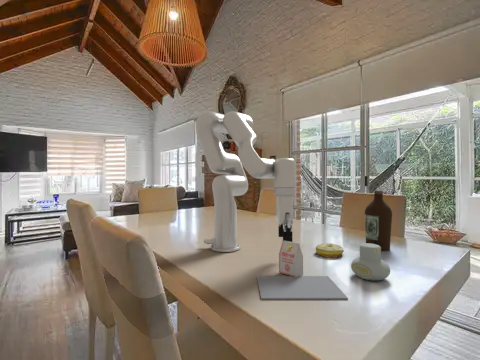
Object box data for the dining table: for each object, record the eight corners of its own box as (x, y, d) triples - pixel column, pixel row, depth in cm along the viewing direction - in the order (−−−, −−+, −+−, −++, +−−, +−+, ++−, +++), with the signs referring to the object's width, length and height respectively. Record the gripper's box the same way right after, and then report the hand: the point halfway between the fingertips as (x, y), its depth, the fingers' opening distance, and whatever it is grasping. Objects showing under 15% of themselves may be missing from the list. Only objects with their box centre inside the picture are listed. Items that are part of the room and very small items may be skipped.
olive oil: (376, 244, 125) (376, 189, 125) (397, 250, 116) (398, 191, 115) (358, 246, 121) (359, 190, 121) (379, 252, 111) (380, 191, 111)
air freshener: (346, 274, 87) (346, 243, 87) (363, 270, 91) (363, 240, 91) (378, 286, 77) (378, 251, 77) (395, 281, 81) (395, 247, 81)
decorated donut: (347, 254, 110) (347, 245, 109) (336, 260, 102) (336, 250, 102) (323, 249, 117) (323, 240, 117) (311, 254, 109) (311, 245, 109)
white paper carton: (286, 270, 90) (286, 239, 91) (303, 275, 85) (302, 242, 85) (279, 272, 88) (279, 240, 88) (295, 277, 83) (295, 244, 83)
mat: (261, 299, 69) (261, 298, 69) (256, 277, 84) (256, 276, 84) (347, 299, 69) (347, 297, 69) (328, 277, 84) (328, 276, 84)
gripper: (271, 191, 107) (271, 234, 107) (278, 194, 90) (278, 245, 90) (290, 191, 107) (290, 234, 107) (300, 193, 90) (301, 245, 90)
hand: (285, 239), depth 98 cm, fingers open, 9 cm apart
